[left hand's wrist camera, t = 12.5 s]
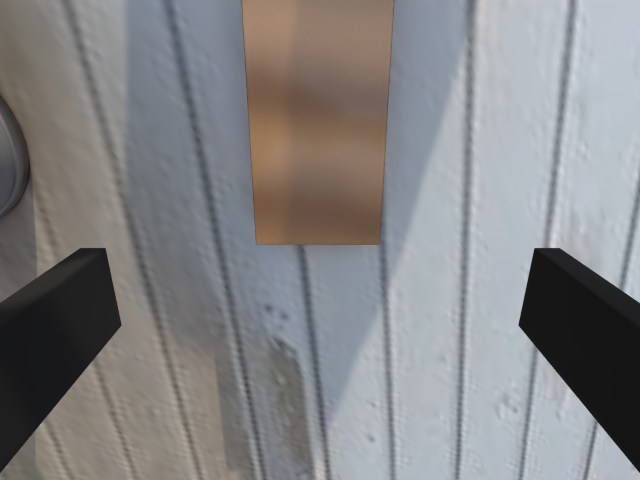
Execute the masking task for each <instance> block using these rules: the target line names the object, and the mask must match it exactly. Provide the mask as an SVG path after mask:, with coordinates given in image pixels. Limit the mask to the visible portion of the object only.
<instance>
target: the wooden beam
mask: <svg viewBox="0 0 640 480" xmlns="http://www.w3.org/2000/svg"><path fill="white" fill-rule="evenodd" d="M393 12H394V0H242V16H243V33H244V49H245V66H246V83H247V100H248V117H249V133H250V150H251V167H252V184H253V201H254V217H255V234H256V244H333V245H379V244H380V230H381V213H382V196H383V180H384V163H385V146H386V129H387V113H388V96H389V79H390V63H391V46H392V29H393Z"/></svg>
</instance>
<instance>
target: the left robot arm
mask: <svg viewBox="0 0 640 480" xmlns="http://www.w3.org/2000/svg"><path fill="white" fill-rule="evenodd" d="M28 171H29V160H28V151H27V147H26V142H25V139H24V136H23V133H22V131H21V128H20V126H19V124H18V122H17V120H16V118H15V116H14V114H13V113H12V111H11V109H10V108H9V107H8V105H7V104H6V102H5V101H4V100H3V98H2V97H1V96H0V218H1V217H2V216H4V215H5V214H7V213H8V212H9V211H10V210H11V209H12V208H13V207H14V206H15V205H16V204H17V203H18V201H19V200H20V198H21V196H22V194H23V192H24V190H25V187H26V183H27V179H28ZM120 327H121V320H120V316H119V311H118V306H117V301H116V296H115V292H114V287H113V282H112V277H111V272H110V268H109V263H108V258H107V253H106V248H80V249H78V250H77V251H76V252H74V253H73V254H71V255H70V256H68V257H67V258H65V259H64V260H62V261H61V262H60V263H58V264H57V265H55V266H54V267H52V268H51V269H49V270H48V271H46V272H45V273H43V274H42V275H41V276H39V277H38V278H36V279H35V280H33V281H32V282H30V283H29V284H27V285H26V286H25V287H23V288H22V289H20V290H19V291H17V292H16V293H14V294H13V295H11V296H10V297H8V298H7V299H6V300H4V301H3V302H1V303H0V473H1V471H2V470H3V469H4V468H5V466H6V465H7V464H8V463H9V462H10V460H11V459H12V458H13V457H14V456H15V454H16V453H17V452H18V451H19V449H20V448H21V447H22V446H23V445H24V443H25V442H26V441H27V440H28V438H29V437H30V436H31V435H32V434H33V432H34V431H35V430H36V429H37V428H38V426H39V425H40V424H41V423H42V421H43V420H44V419H45V418H46V417H47V415H48V414H49V413H50V412H51V411H52V409H53V408H54V407H55V406H56V404H57V403H58V402H59V401H60V400H61V398H62V397H63V396H64V395H65V393H66V392H67V391H68V390H69V389H70V387H71V386H72V385H73V384H74V383H75V381H76V380H77V379H78V378H79V376H80V375H81V374H82V373H83V372H84V370H85V369H86V368H87V367H88V365H89V364H90V363H91V362H92V361H93V359H94V358H95V357H96V356H97V355H98V353H99V352H100V351H101V350H102V348H103V347H104V346H105V345H106V344H107V342H108V341H109V340H110V339H111V337H112V336H113V335H114V334H115V333H116V331H117V330H118V329H119V328H120ZM519 327H520V328H521V329H522V330H523V331H524V333H525V334H526V335H527V336H528V337H529V339H530V340H531V341H532V342H533V344H534V345H535V346H536V347H537V348H538V350H539V351H540V352H541V353H542V355H543V356H544V357H545V358H546V359H547V361H548V362H549V363H550V364H551V365H552V367H553V368H554V369H555V370H556V372H557V373H558V374H559V375H560V376H561V378H562V379H563V380H564V381H565V383H566V384H567V385H568V386H569V387H570V389H571V390H572V391H573V392H574V393H575V395H576V396H577V397H578V398H579V400H580V401H581V402H582V403H583V404H584V406H585V407H586V408H587V409H588V411H589V412H590V413H591V414H592V415H593V417H594V418H595V419H596V420H597V421H598V423H599V424H600V425H601V426H602V428H603V429H604V430H605V431H606V432H607V434H608V435H609V436H610V437H611V438H612V440H613V441H614V442H615V443H616V445H617V446H618V447H619V448H620V449H621V451H622V452H623V453H624V454H625V456H626V457H627V458H628V459H629V460H630V462H631V463H632V464H633V465H634V466H635V468H636V469H637V470H638V471H639V473H640V303H639V302H637V301H636V300H634V299H633V298H631V297H630V296H629V295H627V294H626V293H624V292H623V291H621V290H620V289H618V288H617V287H615V286H614V285H613V284H611V283H610V282H608V281H607V280H605V279H604V278H602V277H601V276H599V275H598V274H597V273H595V272H594V271H592V270H591V269H589V268H588V267H586V266H585V265H583V264H582V263H580V262H579V261H578V260H576V259H575V258H573V257H572V256H570V255H569V254H567V253H566V252H564V251H563V250H562V249H560V248H534V253H533V258H532V263H531V268H530V272H529V277H528V282H527V287H526V292H525V296H524V301H523V306H522V311H521V316H520V320H519Z"/></svg>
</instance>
